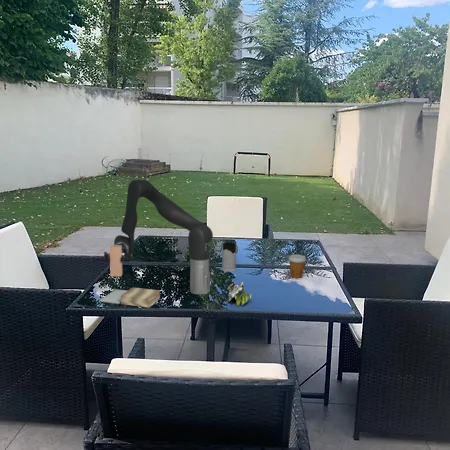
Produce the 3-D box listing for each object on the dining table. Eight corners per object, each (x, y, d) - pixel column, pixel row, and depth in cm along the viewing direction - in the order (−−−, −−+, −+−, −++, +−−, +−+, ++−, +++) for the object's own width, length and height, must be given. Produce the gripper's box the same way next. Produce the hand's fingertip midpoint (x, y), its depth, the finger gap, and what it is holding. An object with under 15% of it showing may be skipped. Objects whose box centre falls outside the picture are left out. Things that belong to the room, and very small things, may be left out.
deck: (159, 298, 215) (159, 290, 214) (149, 307, 203) (149, 299, 203) (132, 295, 218) (132, 287, 217) (120, 304, 207) (120, 295, 206)
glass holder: (218, 269, 263) (219, 244, 260) (229, 264, 275) (230, 240, 272) (232, 272, 259) (232, 246, 256) (242, 266, 271) (243, 241, 268)
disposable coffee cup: (306, 280, 248) (308, 258, 245) (289, 280, 247) (290, 258, 244) (302, 274, 257) (303, 254, 254) (286, 274, 256) (287, 254, 254)
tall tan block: (122, 273, 216) (121, 245, 213) (121, 276, 212) (120, 247, 209) (111, 273, 216) (111, 245, 213) (110, 276, 212) (109, 247, 209)
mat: (134, 292, 222) (134, 291, 222) (118, 303, 207) (118, 302, 207) (115, 290, 225) (115, 289, 225) (99, 301, 210) (99, 300, 209)
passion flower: (230, 312, 214) (225, 288, 219) (252, 307, 215) (247, 283, 220) (230, 307, 204) (225, 281, 208) (254, 302, 205) (248, 277, 209)
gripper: (105, 243, 225) (99, 252, 208) (134, 243, 226) (131, 252, 210) (105, 258, 226) (99, 268, 210) (134, 258, 228) (131, 268, 211)
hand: (115, 260), depth 210 cm, fingers closed on tall tan block, 5 cm apart
